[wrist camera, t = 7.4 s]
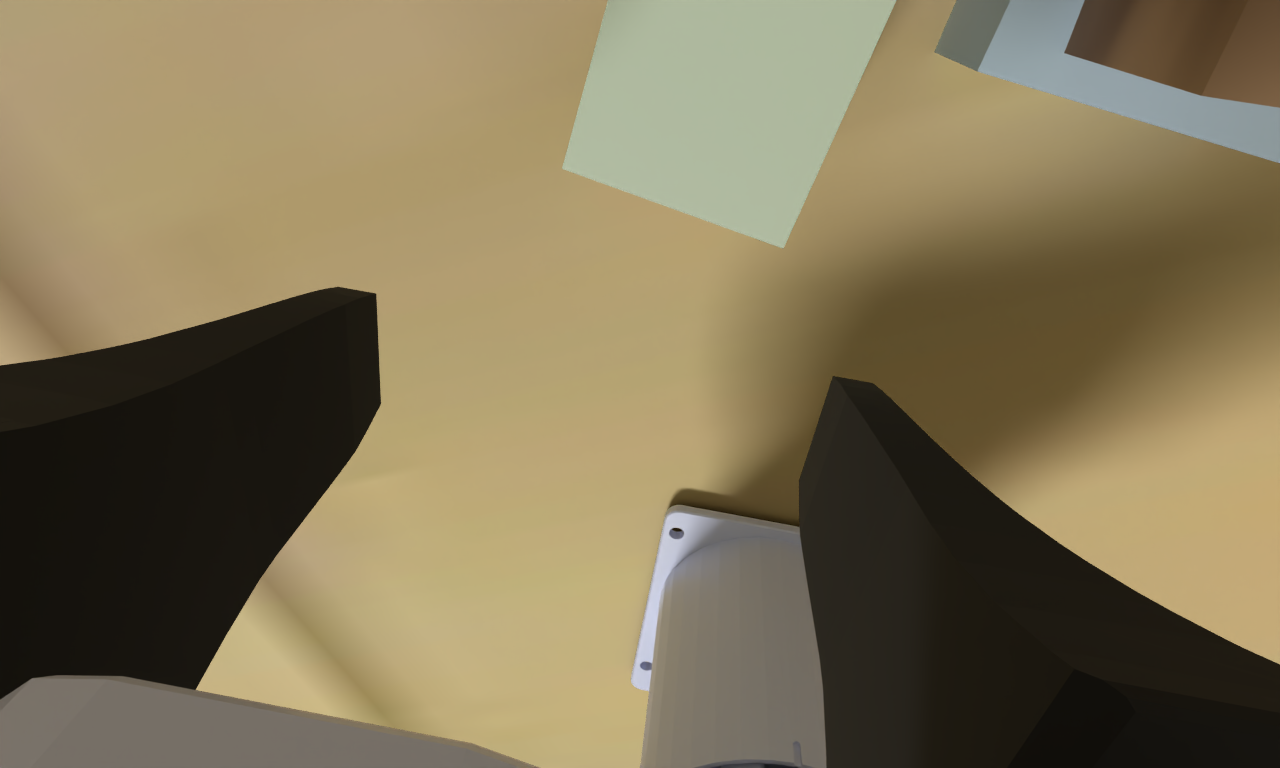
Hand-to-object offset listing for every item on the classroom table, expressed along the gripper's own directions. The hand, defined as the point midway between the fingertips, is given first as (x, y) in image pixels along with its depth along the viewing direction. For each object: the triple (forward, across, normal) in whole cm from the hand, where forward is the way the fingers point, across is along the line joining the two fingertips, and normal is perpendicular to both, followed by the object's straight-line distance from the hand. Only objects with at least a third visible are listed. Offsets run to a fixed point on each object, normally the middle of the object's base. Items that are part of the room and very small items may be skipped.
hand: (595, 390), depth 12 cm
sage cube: (+11, -1, -4) cm, 11 cm away
